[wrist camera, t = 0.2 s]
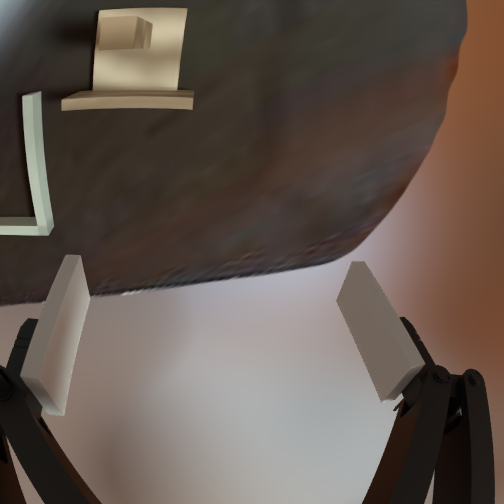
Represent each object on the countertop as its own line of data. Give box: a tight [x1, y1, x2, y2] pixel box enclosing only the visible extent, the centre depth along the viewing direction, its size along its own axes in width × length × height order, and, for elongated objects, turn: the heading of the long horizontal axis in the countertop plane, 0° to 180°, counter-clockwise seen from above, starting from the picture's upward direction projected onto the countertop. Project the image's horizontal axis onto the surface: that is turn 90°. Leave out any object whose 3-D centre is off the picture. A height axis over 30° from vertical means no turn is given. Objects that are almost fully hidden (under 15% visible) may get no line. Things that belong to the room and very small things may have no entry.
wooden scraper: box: [62, 8, 194, 111], centre depth 25 cm, size 11×14×11 cm
